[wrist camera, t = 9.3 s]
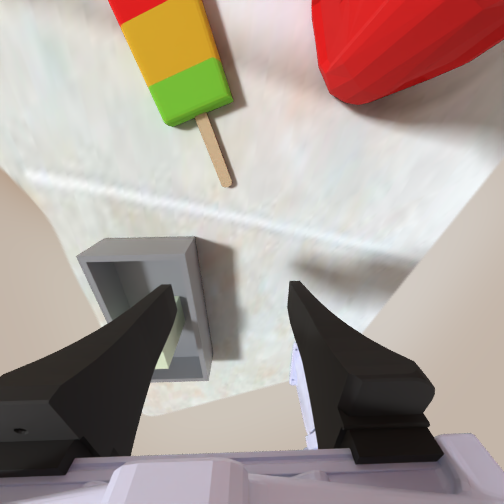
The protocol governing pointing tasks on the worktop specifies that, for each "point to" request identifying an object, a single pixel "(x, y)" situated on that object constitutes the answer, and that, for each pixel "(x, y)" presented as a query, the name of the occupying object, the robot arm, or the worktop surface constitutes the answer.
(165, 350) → the sage block
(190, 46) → the popsicle
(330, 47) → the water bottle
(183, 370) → the bin
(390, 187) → the worktop surface
